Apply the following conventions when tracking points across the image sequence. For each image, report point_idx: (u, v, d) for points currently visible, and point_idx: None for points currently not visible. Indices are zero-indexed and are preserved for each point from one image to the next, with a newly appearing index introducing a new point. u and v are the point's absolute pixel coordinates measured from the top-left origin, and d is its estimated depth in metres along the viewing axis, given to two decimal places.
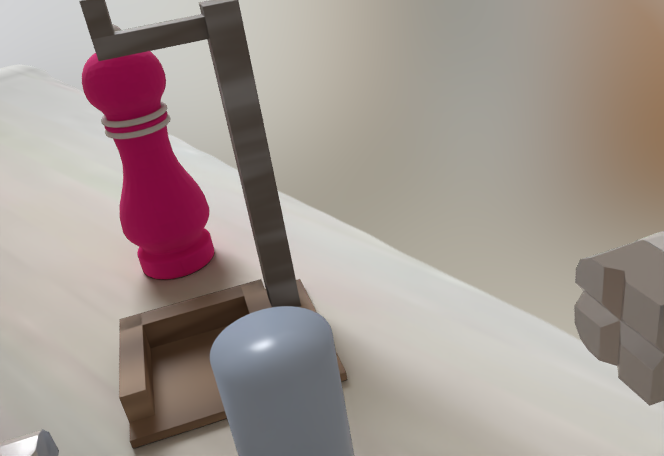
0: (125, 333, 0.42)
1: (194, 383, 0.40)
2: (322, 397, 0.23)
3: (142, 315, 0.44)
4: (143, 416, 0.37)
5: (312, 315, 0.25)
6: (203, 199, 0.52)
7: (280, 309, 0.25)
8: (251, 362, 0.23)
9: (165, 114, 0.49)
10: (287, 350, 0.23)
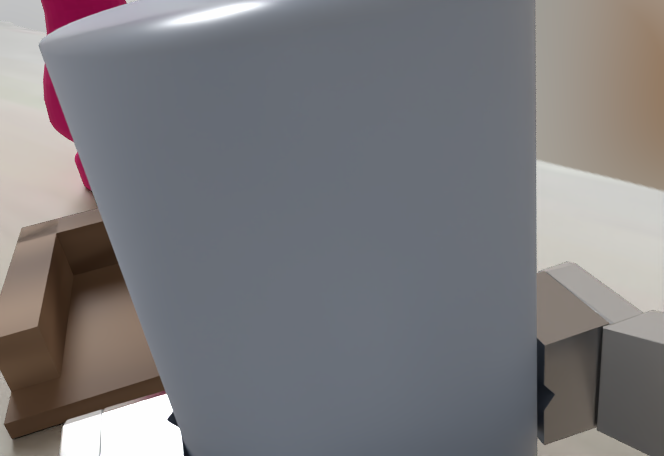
0: (25, 245, 0.24)
1: (139, 323, 0.22)
2: (508, 167, 0.05)
3: (59, 221, 0.26)
4: (37, 379, 0.20)
5: None
6: None
7: None
8: (205, 20, 0.05)
9: None
10: None
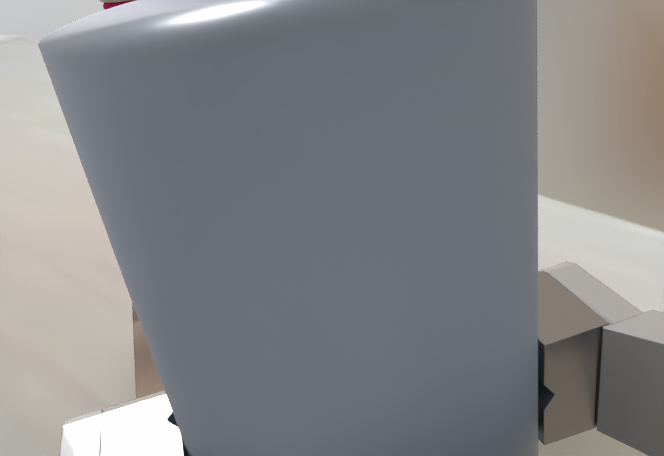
0: None
1: None
2: (508, 166, 0.05)
3: None
4: None
5: None
6: None
7: None
8: (205, 19, 0.05)
9: None
10: None
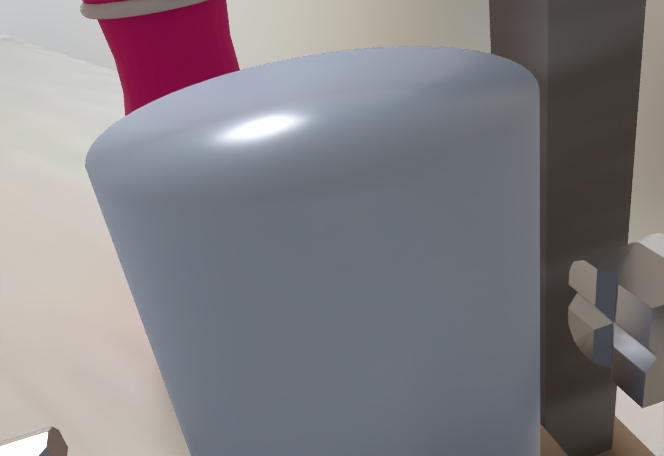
0: None
1: None
2: (514, 280, 0.06)
3: None
4: None
5: (432, 51, 0.08)
6: None
7: (327, 57, 0.08)
8: (238, 147, 0.06)
9: None
10: (371, 113, 0.06)
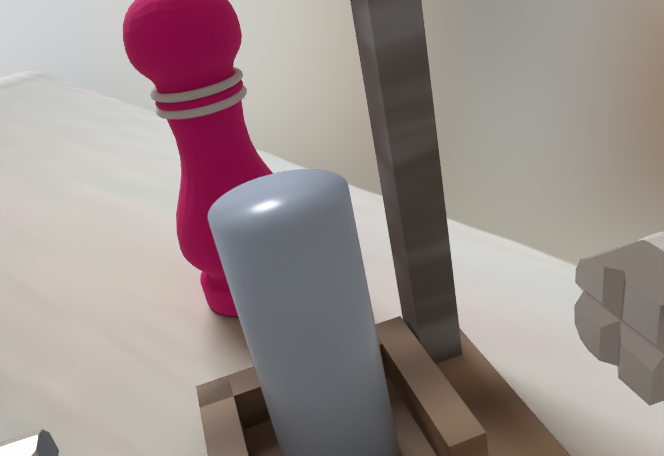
0: (209, 411, 0.27)
1: None
2: (339, 253, 0.20)
3: (230, 379, 0.29)
4: None
5: (324, 173, 0.22)
6: None
7: (287, 173, 0.22)
8: (256, 216, 0.20)
9: (241, 83, 0.34)
10: (296, 203, 0.20)
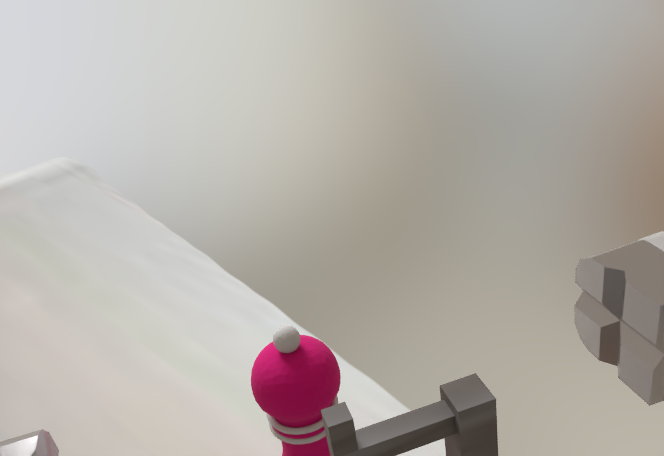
0: None
1: None
2: None
3: None
4: None
5: None
6: None
7: None
8: None
9: None
10: None
